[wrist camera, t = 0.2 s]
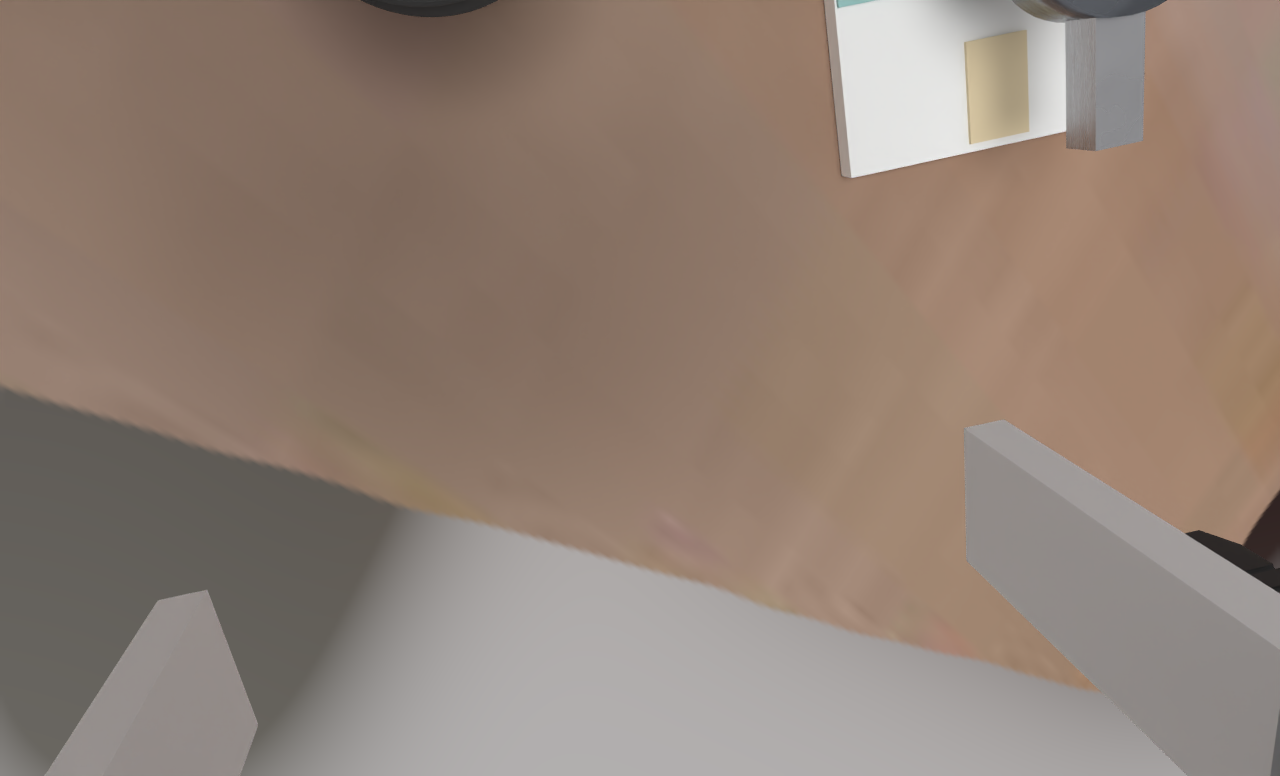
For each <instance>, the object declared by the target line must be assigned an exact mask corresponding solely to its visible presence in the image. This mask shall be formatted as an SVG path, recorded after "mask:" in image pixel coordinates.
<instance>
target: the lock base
mask: <svg viewBox="0 0 1280 776" xmlns="http://www.w3.org/2000/svg"><path fill="white" fill-rule="evenodd" d="M824 6H825V16H826V26H827V36H828V45H829V55H830V65H831V75H832V85H833V95H834V105H835V115H836V124H837V134H838V144H839V154H840V164H841V174H842V176H844V177H849V178H854V177H859V176H864V175H868V174H873V173H877V172H882V171H887V170H891V169H896V168H900V167H905V166H909V165H914V164H919V163H923V162H928V161H932V160H937V159H941V158H946V157H951V156H955V155H960V154H964V153H969V152H974V151H978V150H983V149H987V148H992V147H996V146H1001V145H1006V144H1010V143H1015V142H1019V141H1024V140H1029V139H1033V138H1038V137H1042V136H1047V135H1051V134H1056V133H1061V132H1065V131H1066V52H1065V23H1055V22H1050V21H1045V20H1042V19H1039V18H1036V17H1034V16H1032V15H1030V14H1029V13H1027V12H1025V11H1023V10H1022V9H1021V8H1020V7H1018V6H1017V5H1016V4H1015V3H1014V2H1013V1H1012V0H824Z"/></svg>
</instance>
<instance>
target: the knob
mask: <svg viewBox="0 0 1280 776" xmlns="http://www.w3.org/2000/svg"><path fill="white" fill-rule="evenodd" d="M1012 1H1013V2H1014V3H1015V4H1016V5H1017V6H1018V7H1020V8H1021V9H1022V10H1023V11H1025V12H1027V13H1029V14H1030V15H1032V16H1034V17H1036V18H1039V19H1042V20H1045V21H1050V22H1055V23H1065V52H1066V148H1069V149H1079V150H1090V151H1098V150H1103V149H1107V148H1112V147H1116V146H1121V145H1125V144H1130V143H1134V142H1139V141H1143V109H1144V59H1145V11H1147V10H1149V9H1152V8H1154V7H1156V6H1158V5H1160V4H1161V3H1163V2H1165V1H1166V0H1012Z"/></svg>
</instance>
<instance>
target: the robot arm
mask: <svg viewBox="0 0 1280 776" xmlns="http://www.w3.org/2000/svg"><path fill="white" fill-rule="evenodd" d="M964 454H965V506H966V558H967V562H968V563H969V564H970V565H971V566H973V567H974V568H975V569H976V570H977V571H978V572H979V573H980V574H981V575H982V576H983V577H984V578H985V579H986V580H987V581H988V582H989V583H990V584H991V585H992V586H993V587H994V588H995V589H996V590H997V591H998V592H999V593H1000V594H1001V595H1002V596H1003V597H1004V598H1005V599H1006V600H1007V601H1008V602H1010V603H1011V604H1012V605H1013V606H1014V607H1015V608H1016V609H1017V610H1018V611H1019V612H1020V613H1021V614H1022V615H1023V616H1024V617H1025V618H1026V619H1027V620H1028V621H1029V622H1030V623H1031V624H1032V625H1033V626H1034V627H1035V628H1036V629H1037V630H1038V631H1039V632H1040V633H1041V634H1042V635H1043V636H1044V637H1045V638H1047V639H1048V640H1049V641H1050V642H1051V643H1052V644H1053V645H1054V646H1055V647H1056V648H1057V649H1058V650H1059V651H1060V652H1061V653H1062V654H1063V655H1064V656H1065V657H1066V658H1067V659H1068V660H1069V661H1070V662H1071V663H1072V664H1073V665H1074V666H1075V667H1076V668H1077V669H1078V670H1079V671H1080V672H1081V673H1082V674H1084V675H1085V676H1086V677H1087V678H1088V679H1089V680H1090V681H1091V682H1092V683H1093V684H1094V685H1095V686H1096V687H1097V688H1098V689H1099V690H1100V691H1101V692H1102V693H1103V694H1104V695H1105V696H1106V697H1107V698H1108V699H1109V700H1110V701H1111V702H1112V703H1113V704H1114V705H1115V706H1116V707H1117V708H1118V709H1120V710H1121V711H1122V712H1123V713H1124V714H1125V715H1126V716H1127V717H1128V718H1129V719H1130V720H1131V721H1132V722H1133V723H1134V724H1135V725H1136V726H1137V727H1138V728H1139V729H1140V730H1141V731H1142V732H1143V733H1144V734H1145V735H1146V736H1147V737H1148V738H1149V739H1150V740H1152V742H1153V743H1154V744H1155V745H1156V746H1157V747H1159V748H1160V749H1161V750H1162V751H1163V752H1164V753H1165V754H1166V755H1167V756H1168V757H1169V758H1170V759H1171V760H1172V761H1173V762H1174V763H1175V764H1176V765H1177V766H1178V767H1179V768H1180V769H1181V770H1182V771H1183V772H1184V773H1185V774H1186V775H1187V776H1280V568H1278V569H1275V568H1274V567H1273V564H1272V563H1270V562H1268V561H1267V560H1265V559H1263V558H1262V557H1260V556H1259V555H1257V554H1255V553H1254V552H1252V551H1250V550H1248V549H1247V548H1245V547H1244V546H1242V545H1240V544H1238V543H1235V542H1232V541H1229V540H1226V539H1223V538H1220V537H1217V536H1214V535H1211V534H1208V533H1205V532H1203V531H1200V530H1198V531H1193V532H1189V533H1183V532H1181V531H1180V530H1178V529H1177V528H1175V527H1173V526H1172V525H1170V524H1169V523H1167V522H1166V521H1164V520H1162V519H1161V518H1159V517H1158V516H1156V515H1154V514H1153V513H1151V512H1150V511H1148V510H1147V509H1145V508H1143V507H1142V506H1140V505H1139V504H1137V503H1135V502H1134V501H1132V500H1131V499H1129V498H1127V497H1126V496H1124V495H1123V494H1121V493H1120V492H1118V491H1116V490H1115V489H1113V488H1112V487H1110V486H1108V485H1107V484H1105V483H1104V482H1102V481H1101V480H1099V479H1097V478H1096V477H1094V476H1093V475H1091V474H1089V473H1088V472H1086V471H1085V470H1083V469H1081V468H1080V467H1078V466H1077V465H1075V464H1074V463H1072V462H1070V461H1069V460H1067V459H1066V458H1064V457H1062V456H1061V455H1059V454H1058V453H1056V452H1055V451H1053V450H1051V449H1050V448H1048V447H1047V446H1045V445H1043V444H1042V443H1040V442H1039V441H1037V440H1035V439H1034V438H1032V437H1031V436H1029V435H1028V434H1026V433H1024V432H1023V431H1021V430H1020V429H1018V428H1016V427H1015V426H1013V425H1012V424H1010V423H1009V422H1007V421H1005V420H1000V421H995V422H990V423H986V424H981V425H976V426H972V427H967V428H964ZM257 726H258V724H257V721H256V718H255V715H254V713H253V710H252V707H251V705H250V702H249V700H248V697H247V694H246V691H245V689H244V686H243V684H242V681H241V678H240V676H239V673H238V670H237V668H236V665H235V662H234V660H233V657H232V654H231V652H230V649H229V646H228V644H227V641H226V639H225V636H224V633H223V631H222V628H221V625H220V623H219V620H218V618H217V615H216V612H215V609H214V607H213V604H212V602H211V599H210V597H209V594H208V591H207V590H205V591H199V592H195V593H190V594H185V595H181V596H176V597H171V598H167V599H163V600H158V601H157V603H156V604H155V606H154V608H153V609H152V611H151V612H150V614H149V615H148V617H147V618H146V620H145V621H144V623H143V625H142V626H141V628H140V629H139V631H138V632H137V634H136V636H135V637H134V639H133V640H132V642H131V643H130V645H129V646H128V648H127V649H126V651H125V653H124V654H123V656H122V657H121V659H120V660H119V662H118V663H117V665H116V666H115V668H114V669H113V671H112V673H111V674H110V676H109V677H108V679H107V680H106V682H105V684H104V685H103V686H102V688H101V690H100V691H99V693H98V694H97V696H96V697H95V699H94V700H93V702H92V704H91V705H90V707H89V708H88V710H87V711H86V713H85V715H84V716H83V717H82V719H81V721H80V722H79V724H78V725H77V727H76V728H75V730H74V731H73V733H72V735H71V736H70V738H69V739H68V741H67V742H66V744H65V745H64V747H63V749H62V750H61V752H60V753H59V755H58V756H57V758H56V759H55V761H54V762H53V764H52V765H51V767H50V769H49V770H48V772H47V773H46V775H45V776H240V774H241V771H242V768H243V765H244V762H245V759H246V757H247V754H248V751H249V748H250V746H251V743H252V740H253V737H254V735H255V732H256V729H257Z"/></svg>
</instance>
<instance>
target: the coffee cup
mask: <svg viewBox="0 0 1280 776" xmlns="http://www.w3.org/2000/svg"><path fill="white" fill-rule="evenodd" d="M361 1H363V2H366V3H368V4H370V5H373V6H375V7H378V8H381V9H384V10H387V11H391V12H395V13H399V14H404V15H411V16H420V17H442V16H451V15H457V14H462V13H466V12H470V11H474V10H477V9H479V8H482V7H485V6H487V5H489V4H491V3H493V2H495V1H497V0H361Z"/></svg>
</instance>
